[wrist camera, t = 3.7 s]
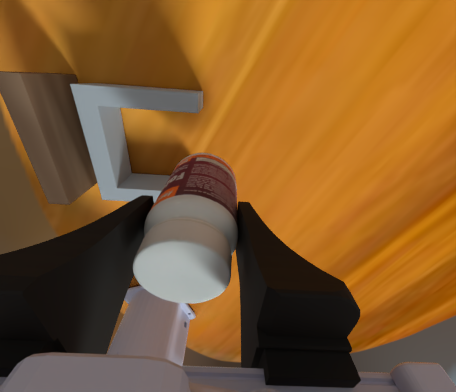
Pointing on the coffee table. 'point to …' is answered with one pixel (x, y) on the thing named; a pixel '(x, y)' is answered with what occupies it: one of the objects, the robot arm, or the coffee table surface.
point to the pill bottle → (190, 233)
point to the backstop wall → (50, 132)
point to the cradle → (115, 136)
